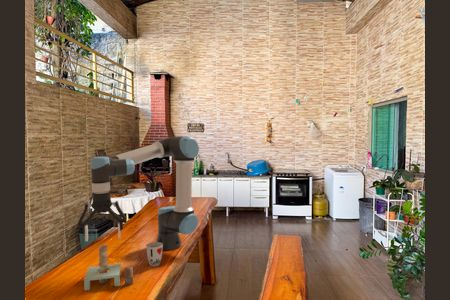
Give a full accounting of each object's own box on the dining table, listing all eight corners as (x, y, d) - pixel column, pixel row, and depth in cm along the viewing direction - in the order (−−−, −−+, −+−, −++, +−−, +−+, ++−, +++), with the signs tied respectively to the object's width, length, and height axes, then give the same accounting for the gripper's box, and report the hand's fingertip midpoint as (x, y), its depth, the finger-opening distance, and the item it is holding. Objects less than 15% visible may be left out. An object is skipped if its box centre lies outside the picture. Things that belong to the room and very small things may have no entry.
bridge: (120, 273, 145) (120, 263, 145) (119, 285, 134) (119, 274, 134) (89, 277, 142) (88, 267, 141) (84, 290, 130) (84, 278, 130)
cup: (148, 268, 151) (147, 248, 151) (145, 262, 159) (145, 243, 158) (164, 265, 154) (164, 246, 154) (161, 259, 162) (160, 241, 161)
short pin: (133, 281, 138) (132, 266, 138) (132, 285, 135) (132, 269, 134) (125, 282, 137) (124, 267, 137) (124, 286, 134) (124, 270, 134)
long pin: (107, 279, 140) (107, 244, 139) (106, 283, 137) (106, 247, 136) (99, 280, 139) (99, 245, 138) (98, 283, 136) (98, 248, 135)
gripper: (131, 188, 143) (132, 233, 144) (72, 192, 136) (74, 239, 137) (130, 191, 135) (132, 238, 137) (68, 195, 129) (71, 245, 130)
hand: (103, 238), depth 137 cm, fingers open, 13 cm apart
